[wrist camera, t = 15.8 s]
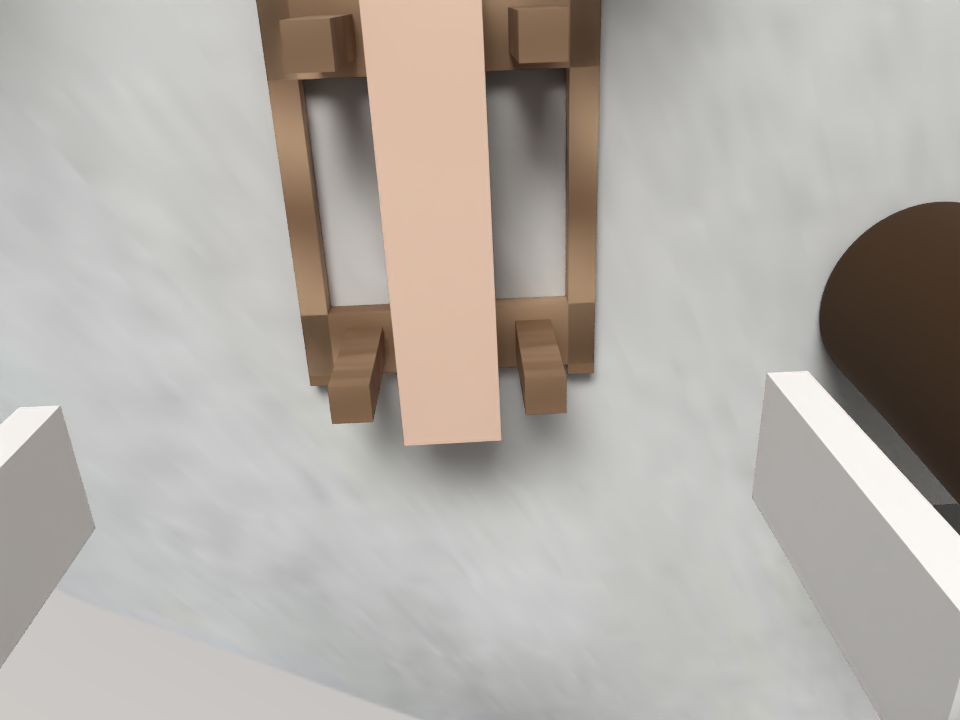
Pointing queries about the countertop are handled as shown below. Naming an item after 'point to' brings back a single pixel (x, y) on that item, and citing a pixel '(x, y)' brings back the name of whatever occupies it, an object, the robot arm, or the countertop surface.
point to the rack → (519, 321)
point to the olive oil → (904, 329)
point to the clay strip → (435, 213)
